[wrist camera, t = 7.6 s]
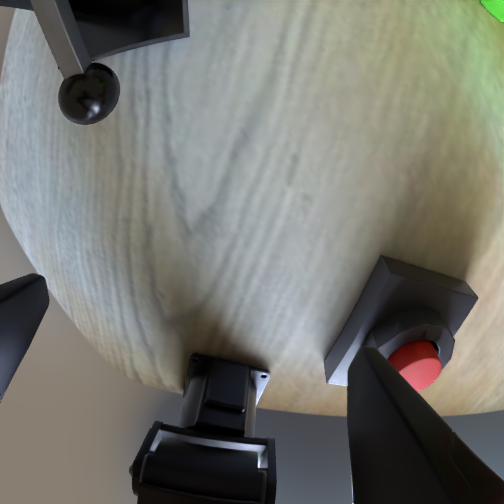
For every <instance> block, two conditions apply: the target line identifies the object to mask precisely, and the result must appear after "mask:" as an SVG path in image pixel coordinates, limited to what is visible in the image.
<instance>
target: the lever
mask: <svg viewBox="0 0 504 504" xmlns="http://www.w3.org/2000/svg"><path fill="white" fill-rule="evenodd" d="M30 1H31V4H32V6H33V9H34V11H35V14H36V16H37V19H38V21H39V24H40V26H41V28H42V31H43V33H44V35H45V38H46V40H47V42H48V45H49V47H50V49H51V51H52V54H53V56H54V58H55V60H56V62H57V64H58V67H59V69H60V71H61V73H62V75H63V77H64V80H63V82H62V84H61V86H60V89H59V93H58V103H59V107H60V110H61V112H62V113H63V115H64V116H65V117H66V118H67V119H68V120H70V121H71V122H73V123H76V124H80V125H90V124H94V123H97V122H99V121H101V120H103V119H104V118H106V117H107V116H108V115H109V114H110V113H111V112H112V111H113V109H114V108H115V106H116V104H117V102H118V99H119V96H120V83H119V80H118V77H117V75H116V74H115V73H114V71H113V70H112V69H111V68H109V67H108V66H106V65H103V64H100V63H92V61H91V58H90V56H89V53H88V51H87V49H86V46H85V44H84V41H83V39H82V36H81V33H80V31H79V28H78V26H77V23H76V21H75V18H74V15H73V13H72V10H71V7H70V4H69V2H68V0H30Z"/></svg>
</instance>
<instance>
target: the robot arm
mask: <svg viewBox="0 0 504 504" xmlns="http://www.w3.org/2000/svg"><path fill="white" fill-rule="evenodd" d="M48 306H49V295H48V289H47V284H46V280H45V278H44V277H43V276H41V275H38V274H35V273H31V274H28V275H26V276H23V277H20V278H17V279H15V280H12V281H9V282H6V283H4V284H1V285H0V402H1V399H2V398H3V396H4V393H5V392H6V390H7V388H8V386H9V384H10V382H11V380H12V378H13V376H14V374H15V372H16V370H17V368H18V366H19V365H20V363H21V361H22V359H23V357H24V355H25V354H26V352H27V350H28V348H29V346H30V344H31V342H32V340H33V338H34V335H35V333H36V331H37V329H38V327H39V325H40V323H41V321H42V318H43V317H44V314H45V312H46V310H47V308H48ZM264 374H265V375H264ZM269 378H270V371H269V370H268V369H264V368H259V367H254V366H250V365H245V364H241V363H236V362H232V361H227V360H223V359H219V358H215V357H211V356H207V355H203V354H199V353H192V354H191V356H190V359H189V365H188V370H187V376H186V382H185V388H184V394H183V397H184V398H185V403H184V407H183V411H182V415H181V419H180V422H179V426H173V425H168V424H163V422H159V421H155V422H154V424H153V426H152V428H150V430H149V432H148V434H147V436H146V438H145V440H144V442H143V444H142V446H141V448H140V450H139V452H138V454H137V456H136V458H135V460H134V462H133V464H132V465H131V466H130V469H129V473H130V475H131V477H132V489H133V493H134V495H136V496H138V501H137V504H275V497H276V482H277V480H276V456H275V439H274V438H268V437H267V438H255V437H254V427H255V414H256V404H257V402H258V400H259V398H260V396H261V394H262V392H263V390H264V388H265V386H266V384H267V382H268V380H269ZM347 425H348V437H349V448H350V461H351V475H352V494H353V504H504V481H503V480H502V479H501V478H500V477H499V476H498V475H497V474H496V473H495V472H494V471H492V470H491V469H490V468H489V467H488V466H487V465H486V464H485V463H484V462H483V461H482V460H481V459H480V458H479V457H478V456H477V455H476V454H474V452H473V451H472V450H470V448H469V447H468V446H467V445H466V444H465V443H464V442H463V441H462V440H461V439H460V438H459V437H458V435H457V434H456V433H455V432H452V429H451V428H450V427H449V426H448V425H447V423H446V422H445V421H444V420H443V419H442V418H441V417H440V416H439V415H438V414H437V413H436V411H435V410H434V409H433V408H432V407H431V406H430V405H429V404H428V403H427V402H426V401H425V400H424V399H423V397H422V396H421V395H420V394H419V393H418V392H417V391H416V390H415V389H414V388H413V387H412V386H411V385H410V384H409V382H408V381H407V380H406V379H405V378H404V377H403V376H402V375H401V374H400V373H399V372H398V371H397V370H396V369H395V368H394V367H393V366H392V364H391V363H390V362H389V361H388V360H387V359H386V358H385V357H384V356H383V355H382V354H381V353H380V352H379V351H378V350H377V349H376V348H374V347H368V346H362V347H360V348H359V349H358V351H357V353H356V355H355V356H354V358H353V360H352V362H351V364H350V365H349V368H348V372H347Z"/></svg>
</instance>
